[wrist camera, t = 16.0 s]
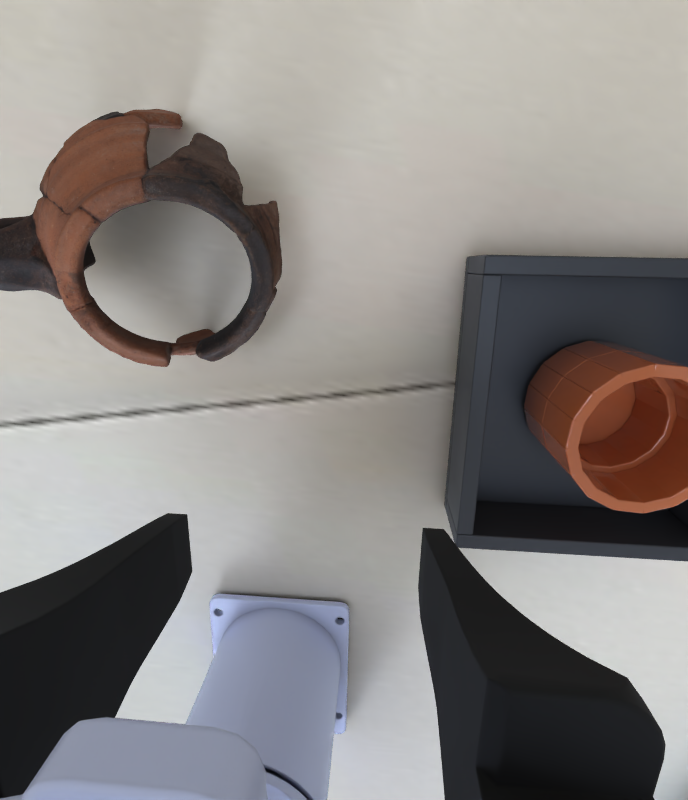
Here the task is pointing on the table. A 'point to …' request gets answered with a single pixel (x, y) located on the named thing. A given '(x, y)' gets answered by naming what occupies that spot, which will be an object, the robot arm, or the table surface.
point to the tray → (507, 387)
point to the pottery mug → (122, 187)
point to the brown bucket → (614, 423)
